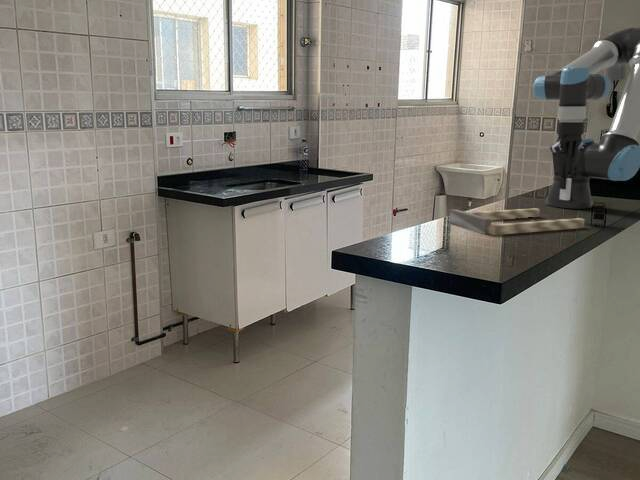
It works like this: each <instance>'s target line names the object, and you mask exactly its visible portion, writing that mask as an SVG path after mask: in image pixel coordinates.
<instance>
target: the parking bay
mask: <svg viewBox="0 0 640 480" xmlns="http://www.w3.org/2000/svg"><path fill="white" fill-rule="evenodd" d="M540 210H541V209H540V208H536V207H533V208H532V207H531V208H517V209H501V210H483V211H469V212H467V211H464V210H463V211H462V210H459V209H450V210H449V221H448V222H449V224H450V225H452V226H453V225H454V226H457V227H460V228H462V229H463V228H464V229H467V230H470V231H473V232H475V233H480V234H483V235H492V236H500V235H514V234H525V233H537V232H538V233H539V232H547V231H548V232H551V231H560V230H561V231H563V230H572V229H573V230H574V229H585V218H580V217H576V218H561V219H560V218H559V219H547V220H535V221H532V220H531V221H522V222H521V221H519V222H507V223H495V224H493V223H492V221H501V220H512V219H513V220H517V219H516V218H518V219H529V218H528V217H533V218H540Z"/></svg>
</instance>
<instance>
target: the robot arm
mask: <svg viewBox="0 0 640 480" xmlns="http://www.w3.org/2000/svg"><path fill="white" fill-rule="evenodd" d="M619 64H620V65H621V64H628V65H629V67H630V68H631V69H630V72H629V75H628V77H627V79H626V83H625V86H624V88H623V91H622V93H621V96H620V100H619V101H618V105H617V108H616V111H615V114H614V116H613V119H612V122H611V125H610V127H609V130H608V132H606V133H603V134H602V135H601V138H600V141H599V142H595V139H594V138H592V137H591V138H582V135H584V133H585V126H586V125H585V122H584V120H586V115H587V112H586V111H587V101H590V100H591V101H598V100H601V99H604V98H606V97H607V96H608V95H609V93H610V92H611V88H612V82H611V80H610V78H609V77H608V76H606V75H605V74H601V73H599V72H600V71H601V70H603V69H607V68H611V67H612V66H614V65H619ZM532 89H533V95H534V96H535V98H536V99H539V100H544V101H545V100H546V101H554V100H555V101H558V100H559V102H558V110H557V111H558V113H557V120H558V122H557V124H556V125H557V126H556V134H557V135H558V136H557V140H556V143H555V144H553V145H550V146H549V149H550V152H551V153H552V163H553V165H552V166H553V180H552V185H551V187H550V189H549V192H548V194H547V196H546V198H545V204H546V205H547V206H549V207H555V208H561V209H562V208H563V209H573V210H574V209H577V210H578V209H579V210H580V209H583V210H584V209H591V208H592V207H593V199H592V194H591V193H592V192H591V188H590V179H591V178H592V179H601V180H610V181H612V182H613V181H614V182H617V181H623V182H624V181H625V182H626V181H629V180H630V179H631V178H633V177H634V176H635V175H636V174H637V172H638V171H639V169H640V142H639V140H638V139H637V137H638V134H639V132H640V27H638V26H637V27H628V28H624V29H623V28H622V29H620V30H618V31H616V32H613V33H611V34H609V35H607V36H605V37H603V38H602V39H600V40H599V41H597V42H595V44H593V45H592V47H591V49H590V50H589V51H587V52H585V53H584V54H583V55H581V56H579V57H578V58H576V59H575V60H573V61H571V62H570V63H568V64H566V65H565V66H563V67H562V68H561V69H559V70H557V71H556V72H554V73H553V74H550V75H547V74H544V75H540V76H538V77H537V78H536V79H535V80H534V83H533V87H532Z"/></svg>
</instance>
